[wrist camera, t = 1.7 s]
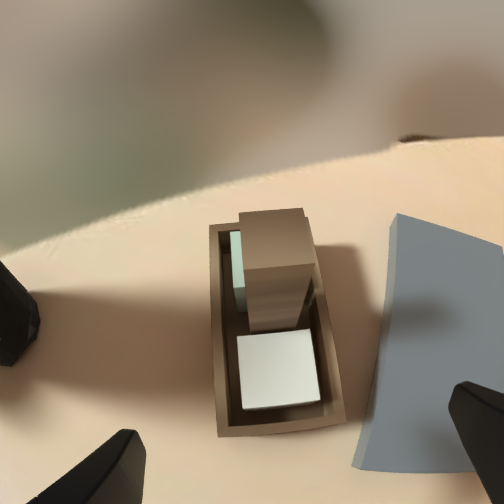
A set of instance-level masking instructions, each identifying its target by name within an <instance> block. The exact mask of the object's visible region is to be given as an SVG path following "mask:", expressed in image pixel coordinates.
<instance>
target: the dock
mask: <svg viewBox="0 0 504 504" xmlns="http://www.w3.org/2000/svg"><path fill="white" fill-rule="evenodd" d="M463 381H470V382H473V383H475V384H478V385H481V386H484V387H487V388H489V389H492V390H495V391H498V392H501V393H504V255H503V250H502V247H501V246H499V245H496V244H493V243H490V242H488V241H485V240H482V239H479V238H476V237H473V236H470V235H467V234H464V233H461V232H458V231H455V230H452V229H449V228H446V227H443V226H439V225H436V224H433V223H430V222H426V221H423V220H420V219H416V218H413V217H409V216H406V215H402V214H399V213H397V214H396V216H395V218H394V220H393V222H392V224H391V226H390V240H389V258H388V272H387V284H386V294H385V304H384V312H383V320H382V328H381V335H380V342H379V348H378V354H377V360H376V366H375V371H374V377H373V382H372V387H371V392H370V396H369V401H368V405H367V410H366V414H365V418H364V422H363V426H362V430H361V434H360V438H359V441H358V445H357V449H356V452H355V456H354V459H353V462H352V467H355V468H357V469H360V470H368V471H379V472H394V473H458V472H472V471H476V470H475V468H474V466H473V464H472V462H471V460H470V459H469V457H468V455H467V453H466V451H465V449H464V447H463V444H462V442H461V440H460V437H459V435H458V432H457V430H456V428H455V425H454V423H453V420H452V418H451V416H450V414H449V411H448V404H449V401H450V398H451V395H452V392H453V389H454V387H455V385H456V384H458V383H461V382H463Z"/></svg>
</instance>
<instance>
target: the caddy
mask: <svg viewBox="0 0 504 504" xmlns="http://www.w3.org/2000/svg"><path fill="white" fill-rule="evenodd" d="M236 231H240V236H241V249H242V261H243V273H244V282H245V290H246V299H247V308H248V312H238V309H237V304H236V298H235V293H234V288H233V272H232V255H231V238H230V232H236ZM209 249H210V298H211V328H212V351H213V371H214V389H215V405H216V419H217V433H218V437H239V436H253V435H265V434H275V433H284V432H292V431H299V430H306V429H312V428H319V427H324V426H330V425H335V424H340V423H345V422H346V415H345V408H344V401H343V394H342V388H341V381H340V375H339V369H338V362H337V357H336V351H335V345H334V339H333V334H332V328H331V323H330V318H329V313H328V307H327V302H326V297H325V292H324V288H323V283H322V278H321V273H320V269H319V264H318V260H317V255H316V251H315V246H314V242H313V237H312V233H311V229H310V225H309V221H308V217H305V215H304V211H303V208H293V209H280V210H267V211H254V212H242V213H239V222H237V223H226V224H215V225H209ZM306 329H310V333H311V340H312V346H313V353H314V359H315V366H316V373H317V380H318V387H319V394H320V400H318V401H316V402H314V403H312V404H309V405H304V406H297V407H289V408H281V409H271V410H261V411H249V412H246V411H245V410H244V409H243V407H242V395H241V383H240V371H239V358H238V344H237V336H248V335H259V334H270V333H280V332H289V331H297V330H306Z"/></svg>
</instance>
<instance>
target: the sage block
mask: <svg viewBox="0 0 504 504" xmlns="http://www.w3.org/2000/svg"><path fill="white" fill-rule="evenodd" d="M230 238H231V255H232V272H233V288H234V293H235V298H236V304H237V309H238V312H248V308H247V299H246V290H245V282H244V273H243V261H242V249H241V236H240V231H236V232H230Z"/></svg>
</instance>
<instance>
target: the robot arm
mask: <svg viewBox="0 0 504 504" xmlns="http://www.w3.org/2000/svg"><path fill="white" fill-rule="evenodd" d="M448 411H449V414H450V416H451V418H452V420H453V423H454V425H455V428H456V430H457V432H458V435H459V437H460V440H461V442H462V444H463V447H464V449H465V451H466V453H467V455H468V457H469V459H470V460H471V462H472V464H473V466H474V468H475V470H476V472H477V474H478V476H479V478H480V480H481V482H482V484H483V486H484V488H485V490H486V492H487V494H488V496H489V498H490V500H491V503H492V504H504V393H501V392H498V391H495V390H492V389H489V388H487V387H484V386H481V385H478V384H475V383H473V382H470V381H463V382H461V383H458V384H456V385H455V387H454V389H453V392H452V395H451V398H450V401H449V404H448ZM145 463H146V450H145V447H144V445H143V443H142V441H141V438H140V436H139V434H138V432H137V431H136V430H133V429H121V430H119V431H118V432H117V433H116V434H115V435H113V436H112V437H111V438H110V439H109V440H107V441H106V442H105V443H104V444H102V445H101V446H100V447H99V448H98V449H96V450H95V451H94V452H93V453H91V454H90V455H89V456H88V457H86V458H85V459H84V460H83V461H81V462H80V463H79V464H78V465H76V466H75V467H74V468H73V469H71V470H70V471H69V472H67V473H66V474H65V475H64V476H62V477H61V478H60V479H58V480H57V481H56V482H55V483H53V484H52V485H51V486H49V487H48V488H47V489H45V490H44V491H43V492H41V493H40V494H39V495H38V497H34V498H33V499H32V500H30V501H29V502H28V503H26V504H142V497H143V485H144V474H145Z"/></svg>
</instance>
